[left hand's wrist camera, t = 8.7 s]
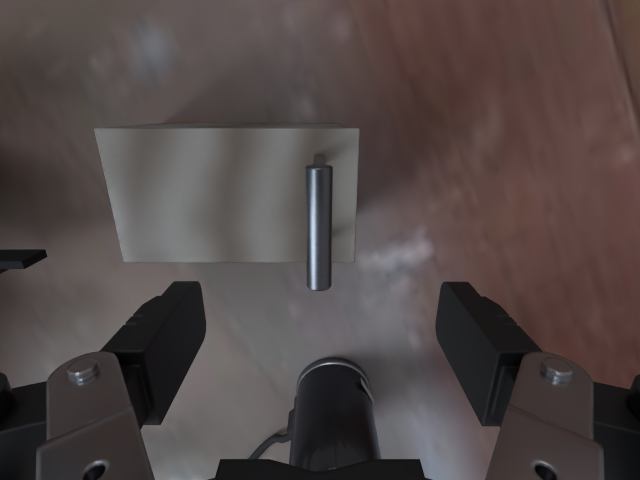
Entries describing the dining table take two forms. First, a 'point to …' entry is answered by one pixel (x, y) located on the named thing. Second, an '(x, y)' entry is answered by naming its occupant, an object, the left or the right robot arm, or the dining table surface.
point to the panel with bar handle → (234, 195)
